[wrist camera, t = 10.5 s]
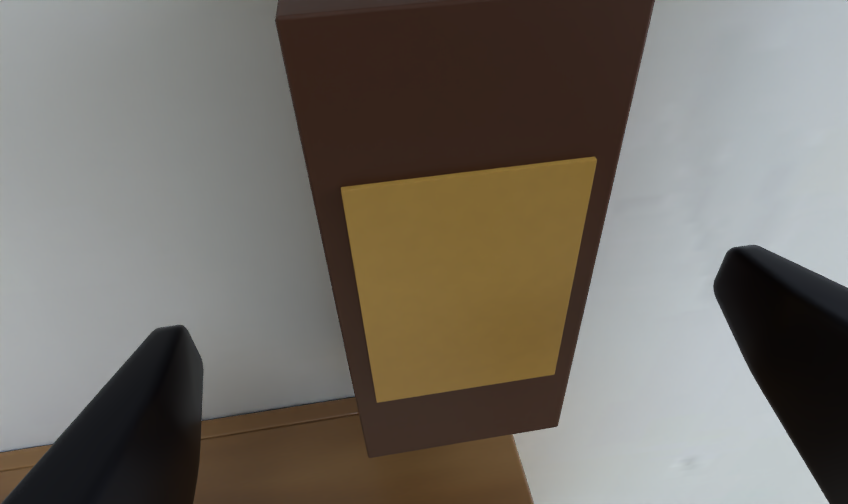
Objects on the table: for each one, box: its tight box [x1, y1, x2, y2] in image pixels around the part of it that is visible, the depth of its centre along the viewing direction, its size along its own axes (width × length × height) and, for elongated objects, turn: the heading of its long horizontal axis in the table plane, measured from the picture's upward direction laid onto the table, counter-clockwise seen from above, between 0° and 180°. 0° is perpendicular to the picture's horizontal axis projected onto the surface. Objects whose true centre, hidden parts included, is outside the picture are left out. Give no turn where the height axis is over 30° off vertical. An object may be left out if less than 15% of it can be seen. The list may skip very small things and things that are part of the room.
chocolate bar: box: [275, 0, 655, 458], centre depth 10 cm, size 10×4×3 cm, turn 2°
